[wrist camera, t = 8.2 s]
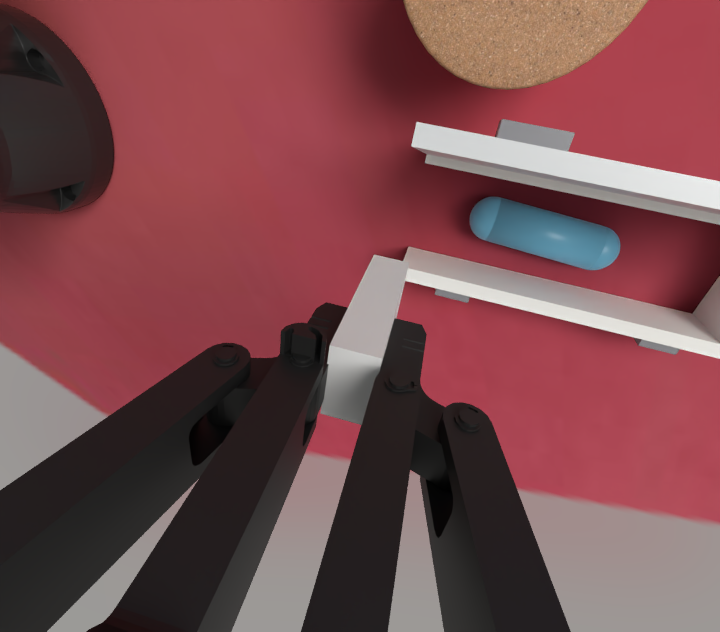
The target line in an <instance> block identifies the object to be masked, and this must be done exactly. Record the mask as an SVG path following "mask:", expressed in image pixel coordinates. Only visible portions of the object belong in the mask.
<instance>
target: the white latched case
mask: <svg viewBox="0 0 720 632" xmlns="http://www.w3.org/2000/svg"><path fill="white" fill-rule="evenodd" d="M425 163H427V164H432V165H437V166H441V167H446V168H451V169H456V170H460V171H465V172H470V173H475V174H479V175H484V176H489V177H494V178H499V179H503V180H508V181H513V182H518V183H522V184H527V185H532V186H537V187H542V188H546V189H551V190H556V191H561V192H565V193H570V194H575V195H580V196H584V197H589V198H594V199H599V200H604V201H608V202H613V203H618V204H623V205H627V206H632V207H637V208H642V209H646V210H651V211H656V212H661V213H666V214H670V215H675V216H680V217H685V218H689V219H694V220H699V221H704V222H709V223H713V224H718V225H720V215H719V214H714V213H709V212H704V211H699V210H695V209H690V208H685V207H680V206H675V205H670V204H666V203H661V202H656V201H651V200H646V199H641V198H637V197H632V196H627V195H622V194H617V193H612V192H608V191H603V190H598V189H593V188H588V187H583V186H579V185H574V184H569V183H564V182H559V181H554V180H549V179H545V178H540V177H535V176H530V175H525V174H520V173H516V172H511V171H506V170H501V169H496V168H491V167H487V166H482V165H477V164H472V163H467V162H462V161H458V160H453V159H448V158H443V157H438V156H433V155H429V154H427V155H426V160H425ZM403 261H404V262H409V267H408V271H407V275H406V279H405V281H408V282H412V283H416V284H420V285H424V286H428V287H432V288H436V290H435V295H438V296H442V297H446V298H450V299H454V300H458V301H462V302H466V303H468V301H469V298H470V297H473V298H477V299H481V300H485V301H489V302H493V303H497V304H501V305H505V306H509V307H513V308H517V309H521V310H525V311H529V312H533V313H537V314H541V315H545V316H549V317H553V318H557V319H562V320H566V321H570V322H574V323H578V324H582V325H586V326H590V327H594V328H598V329H602V330H606V331H610V332H614V333H618V334H622V335H626V336H630V337H633V338H634V339H635V341H636V343H637V344H638V345H639V346H643V347H647V348H651V349H655V350H659V351H663V352H667V353H671V354H675V355H676V354H677V352H678V351H679V350H680V349H683V350H687V351H691V352H695V353H699V354H703V355H707V356H711V357H715V358H719V359H720V276H719V277H718V279H717V280H716V281H715V283H714V284H713V286H712V287H711V288H710V290H709V291H708V292H707V294H706V295H705V297H704V298H703V299H702V301H701V302H700V304H699V305H698V306H697V308H696V309H695V311H694V312H693V313H688V312H683V311H679V310H675V309H671V308H667V307H662V306H658V305H654V304H650V303H645V302H641V301H637V300H633V299H629V298H624V297H620V296H616V295H612V294H607V293H603V292H599V291H595V290H590V289H586V288H582V287H578V286H574V285H569V284H565V283H561V282H557V281H552V280H548V279H544V278H540V277H536V276H531V275H527V274H523V273H519V272H514V271H510V270H506V269H502V268H498V267H493V266H489V265H485V264H481V263H476V262H472V261H468V260H464V259H460V258H455V257H451V256H447V255H443V254H438V253H434V252H430V251H426V250H421V249H417V248H413V247H408V249H407V252H406V255H405V257H404V260H403Z"/></svg>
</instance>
